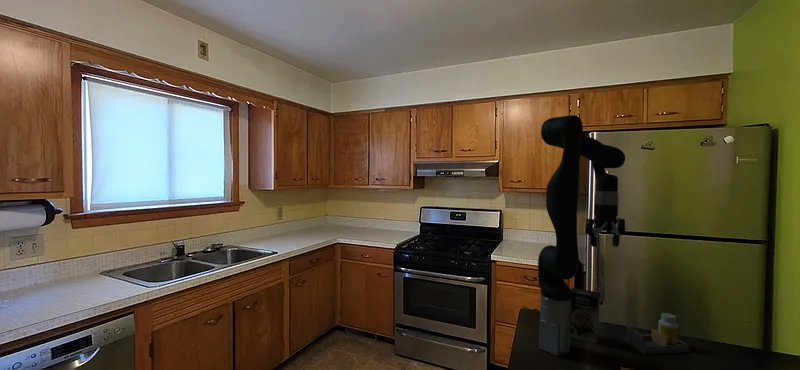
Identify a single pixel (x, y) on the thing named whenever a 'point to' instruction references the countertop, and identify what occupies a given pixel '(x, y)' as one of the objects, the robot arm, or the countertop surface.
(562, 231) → the robot arm
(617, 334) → the countertop surface
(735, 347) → the countertop surface
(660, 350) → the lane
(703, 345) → the countertop surface
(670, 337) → the supplement bottle
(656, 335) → the pusher
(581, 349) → the countertop surface
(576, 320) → the coffee box
